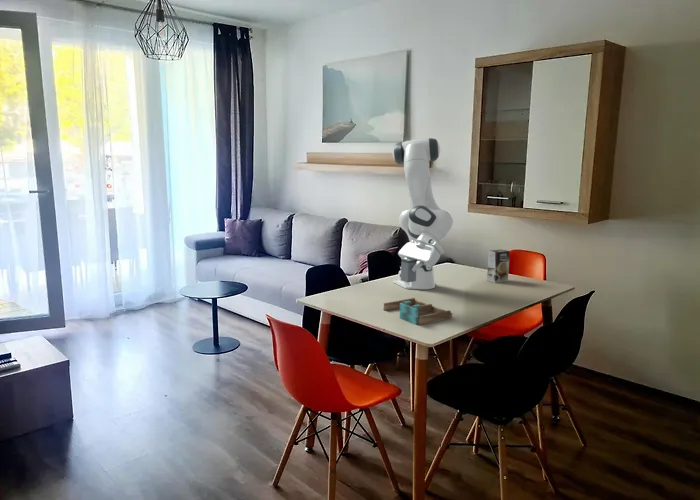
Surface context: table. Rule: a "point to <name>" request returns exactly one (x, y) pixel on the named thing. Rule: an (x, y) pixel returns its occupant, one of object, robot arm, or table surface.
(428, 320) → the frame
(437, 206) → the robot arm
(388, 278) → the table surface
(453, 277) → the table surface
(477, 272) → the table surface
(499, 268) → the coffee box
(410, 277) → the tall grey block
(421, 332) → the table surface
